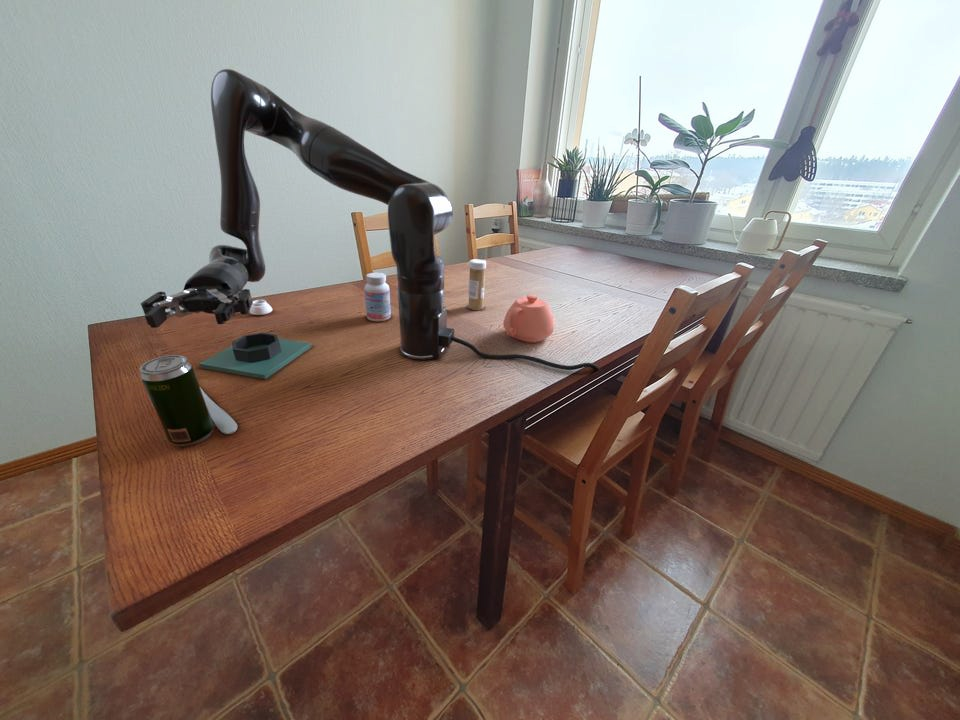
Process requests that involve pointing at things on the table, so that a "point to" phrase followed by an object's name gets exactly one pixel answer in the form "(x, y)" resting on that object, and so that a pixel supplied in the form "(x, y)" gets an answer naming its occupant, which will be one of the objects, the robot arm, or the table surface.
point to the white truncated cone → (260, 307)
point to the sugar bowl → (529, 319)
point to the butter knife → (219, 416)
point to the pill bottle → (377, 297)
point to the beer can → (177, 399)
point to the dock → (256, 367)
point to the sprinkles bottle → (476, 284)
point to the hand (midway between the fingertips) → (186, 320)
